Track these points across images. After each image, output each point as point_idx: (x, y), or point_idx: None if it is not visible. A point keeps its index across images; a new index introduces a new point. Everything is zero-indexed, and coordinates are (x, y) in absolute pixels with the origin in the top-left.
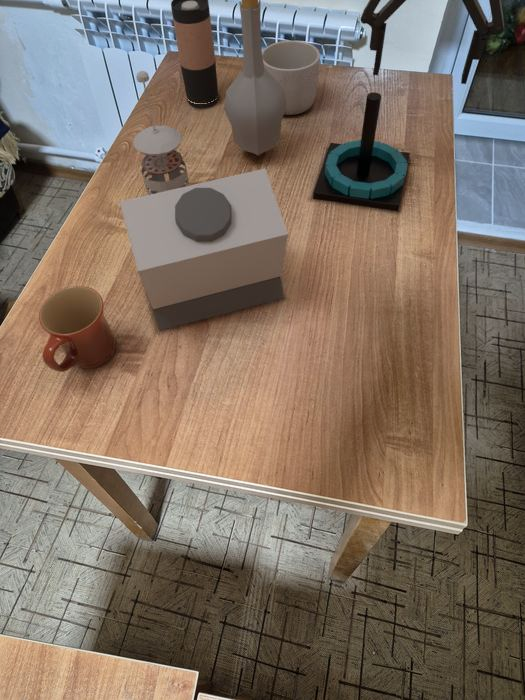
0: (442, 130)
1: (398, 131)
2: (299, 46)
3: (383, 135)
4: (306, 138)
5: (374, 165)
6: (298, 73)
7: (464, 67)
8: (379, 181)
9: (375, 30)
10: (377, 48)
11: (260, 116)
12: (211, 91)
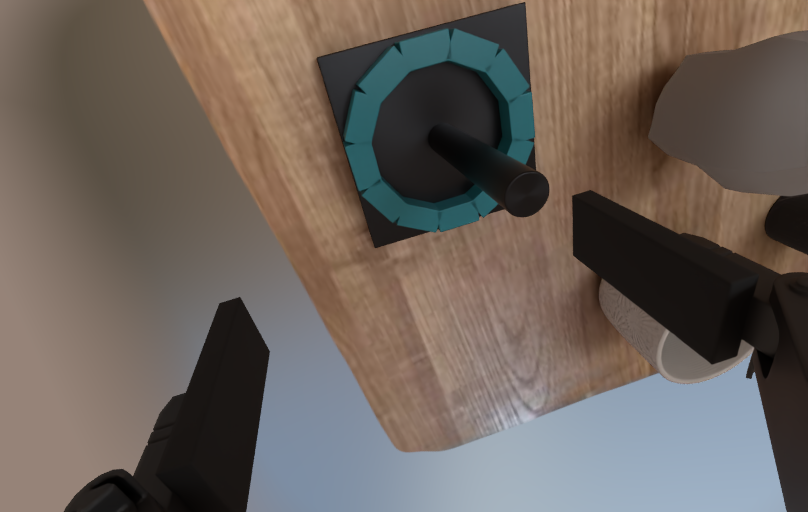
0: (350, 348)
1: (423, 307)
2: (695, 372)
3: (445, 283)
4: None
5: (427, 172)
6: None
7: (255, 363)
8: (391, 90)
9: (762, 284)
10: (670, 233)
11: (784, 52)
12: (803, 215)
